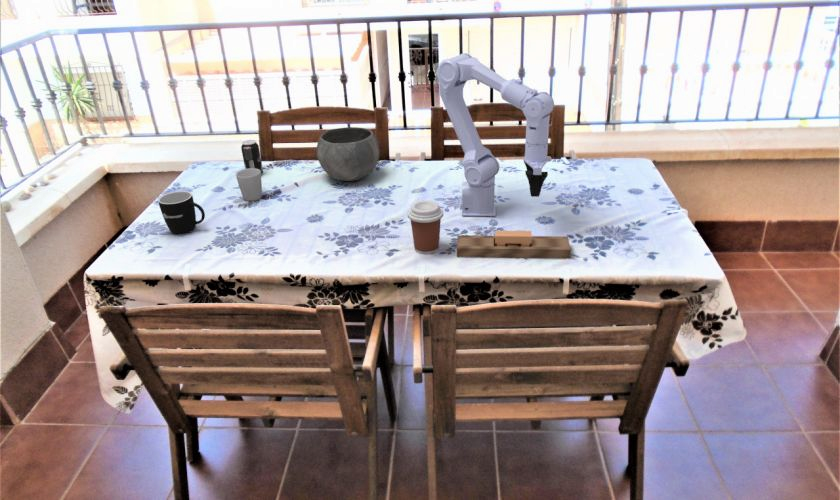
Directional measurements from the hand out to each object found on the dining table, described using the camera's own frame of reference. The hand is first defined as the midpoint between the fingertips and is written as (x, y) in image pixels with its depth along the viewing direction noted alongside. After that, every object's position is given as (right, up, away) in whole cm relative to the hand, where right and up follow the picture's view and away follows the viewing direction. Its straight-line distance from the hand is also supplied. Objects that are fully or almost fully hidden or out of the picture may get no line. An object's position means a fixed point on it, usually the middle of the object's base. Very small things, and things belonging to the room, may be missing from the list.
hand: (533, 190), depth 161 cm
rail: (-7, -16, -9) cm, 20 cm away
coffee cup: (-29, -16, -5) cm, 33 cm away
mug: (-97, -10, +10) cm, 98 cm away
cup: (-83, +1, +29) cm, 88 cm away
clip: (-7, -16, -9) cm, 20 cm away
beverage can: (-88, +10, +46) cm, 99 cm away
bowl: (-54, +8, +41) cm, 68 cm away
